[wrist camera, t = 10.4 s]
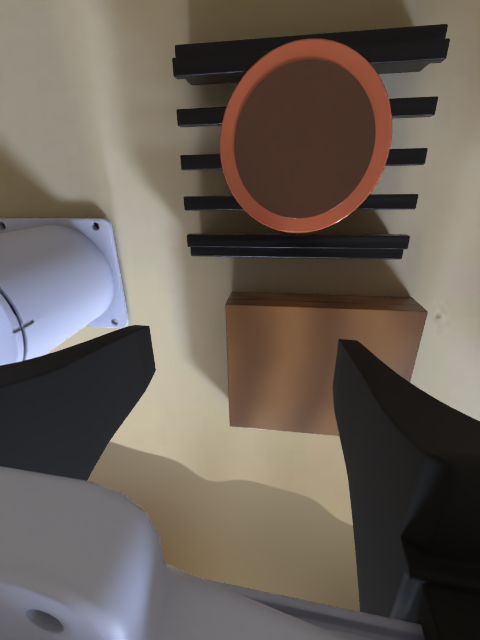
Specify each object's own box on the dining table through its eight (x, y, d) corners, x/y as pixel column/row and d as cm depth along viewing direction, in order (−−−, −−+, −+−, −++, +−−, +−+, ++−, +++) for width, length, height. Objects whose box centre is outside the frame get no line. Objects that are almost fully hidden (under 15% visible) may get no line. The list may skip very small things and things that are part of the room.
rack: (201, 248, 21) (188, 258, 18) (189, 63, 17) (170, 40, 14) (388, 250, 19) (405, 261, 17) (424, 46, 15) (454, 17, 12)
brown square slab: (234, 405, 26) (229, 426, 24) (231, 291, 22) (225, 304, 19) (385, 417, 24) (395, 441, 22) (412, 297, 20) (428, 311, 18)
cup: (243, 216, 17) (222, 232, 11) (241, 96, 15) (215, 44, 9) (346, 216, 16) (377, 233, 11) (361, 90, 14) (410, 29, 8)
